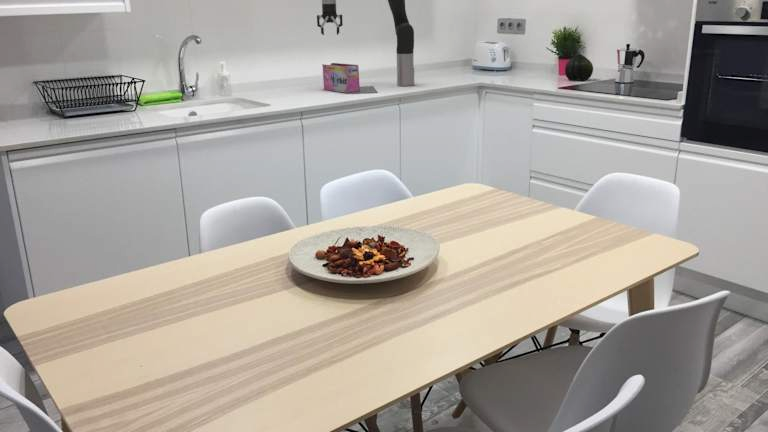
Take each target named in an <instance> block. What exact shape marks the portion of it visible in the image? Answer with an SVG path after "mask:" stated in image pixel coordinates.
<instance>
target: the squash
mask: <svg viewBox="0 0 768 432" xmlns="http://www.w3.org/2000/svg"><path fill="white" fill-rule="evenodd" d="M593 71H594V65H593V63H592V61H591V60H590V59H588V58H587V57H586V56H585V55H583V54H581V53H577V54H575V55H574V56H572V57H570V59H569V60H568V61H567V62H566V64H565V67H564V73H565V74H564V75H565V76H566V78H567V79H568V80H569V81H576V80H579V81H581V82H584V81H586V80H589V79H590V78H591V77H592V75H593Z"/></svg>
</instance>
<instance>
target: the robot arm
mask: <svg viewBox="0 0 768 432" xmlns="http://www.w3.org/2000/svg"><path fill="white" fill-rule="evenodd" d="M387 2H388V3H387V4H388V5H389V9H390V11H391V14H392V18H393V23H394V30H395V35H396V85H397V86H399V87H400V86H401V87H410V86H415V66H414V63H415V62H414V61H415V59H414V48H415V30H414V27H413V26H412V24H410V21H409V19H408V15H407V11H406V0H387ZM321 11H322V14H319V15H318V14H317V15H316V24H317V27H319V28H320V34H321V35H322V36H324V35H325V32H324V31H325V30H324V26H325V25H326V24H329V23H331V24H333V23H334V24H335V26H336V35H339V34H340V27H343V15H342V14H338V13H337V0H321ZM321 18H322V19H323V22H322V23H320V20H321ZM337 18H338V19H339V23H338V22H337V20H336V19H337Z"/></svg>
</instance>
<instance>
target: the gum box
mask: <svg viewBox="0 0 768 432" xmlns="http://www.w3.org/2000/svg"><path fill="white" fill-rule="evenodd" d="M359 70H360V69H359V64H353V63H352V64H351V63H350V64H348V63H338V62H332V63H330V64H322V78H323V79H322V81H323V90H324V91H331V92H338V93H346V94H352V92H358V91H360V87H361V86H360V73H359Z"/></svg>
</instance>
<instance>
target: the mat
mask: <svg viewBox="0 0 768 432" xmlns="http://www.w3.org/2000/svg"><path fill="white" fill-rule="evenodd" d="M359 87H360V91H358V92H352V93H351V94H352V95H354V94H355V95H359V94H362V93H363V94H378V91H377V89H376V88H375V86H373V85H368V86H366V85H364V86H359ZM363 94H362V95H363Z"/></svg>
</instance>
